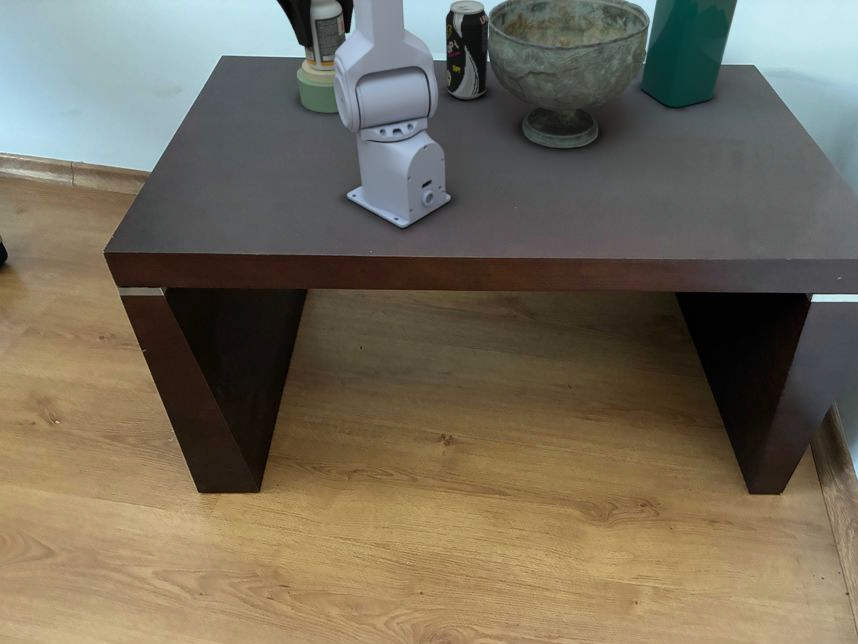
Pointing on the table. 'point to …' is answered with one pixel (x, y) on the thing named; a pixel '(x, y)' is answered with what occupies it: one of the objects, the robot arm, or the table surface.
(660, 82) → the pitcher
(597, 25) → the bowl
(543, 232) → the table surface
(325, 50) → the pill bottle
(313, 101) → the squat jar
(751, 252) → the table surface
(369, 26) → the robot arm
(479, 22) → the beverage can
